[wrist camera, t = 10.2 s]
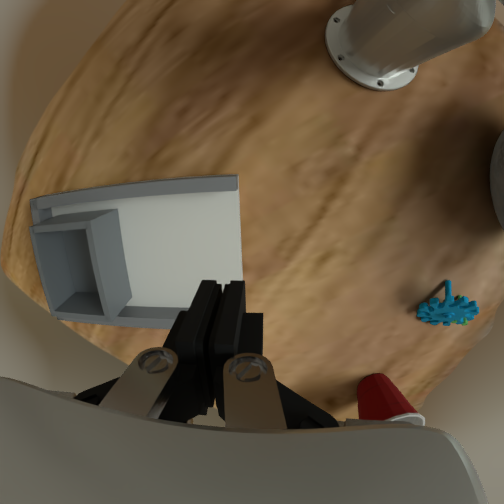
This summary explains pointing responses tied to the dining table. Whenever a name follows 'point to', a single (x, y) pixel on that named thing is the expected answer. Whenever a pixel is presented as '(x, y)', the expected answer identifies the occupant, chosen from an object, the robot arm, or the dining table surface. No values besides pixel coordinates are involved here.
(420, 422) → the plastic cup
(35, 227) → the crate
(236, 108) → the dining table surface
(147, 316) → the bay
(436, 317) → the gear
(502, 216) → the bowl
